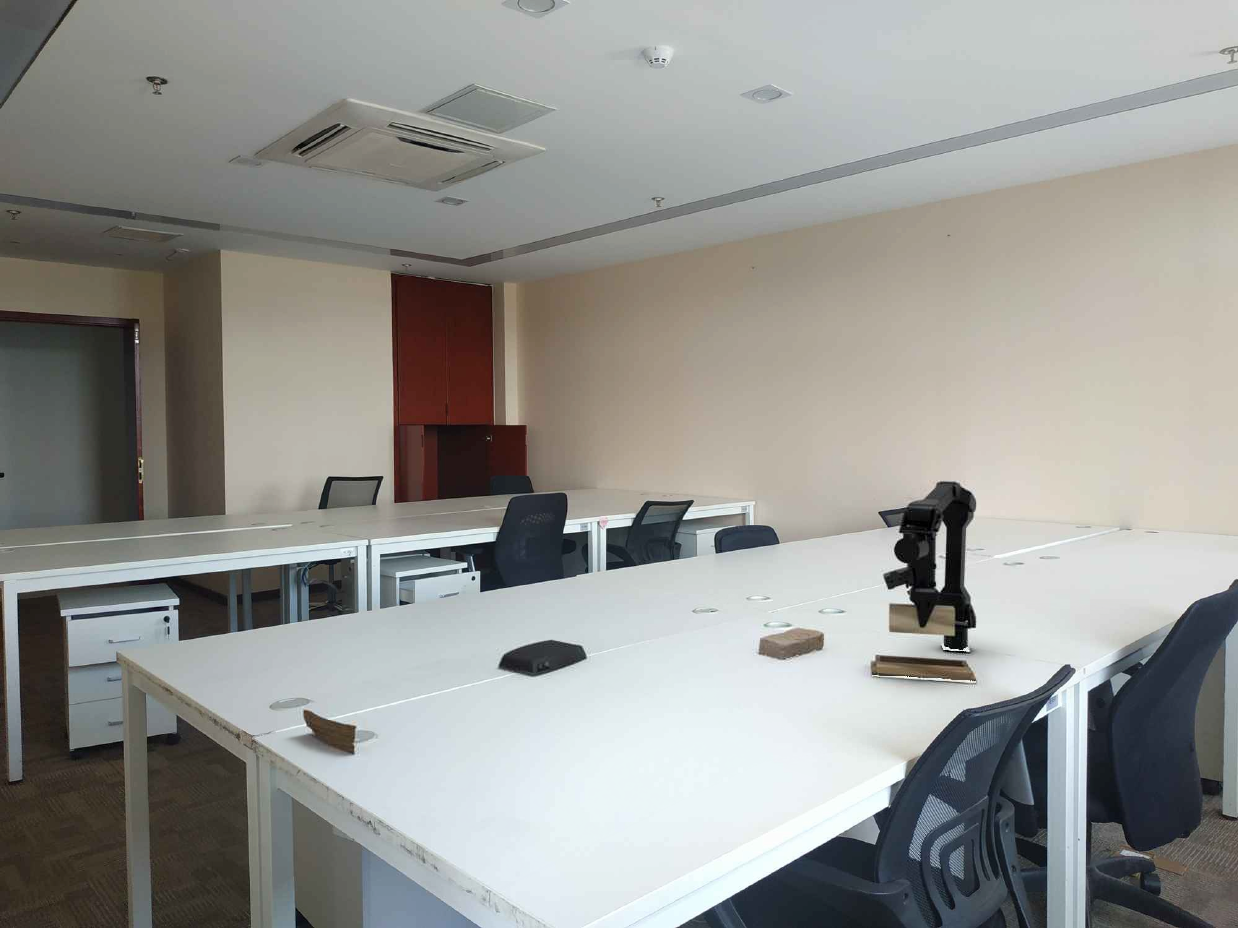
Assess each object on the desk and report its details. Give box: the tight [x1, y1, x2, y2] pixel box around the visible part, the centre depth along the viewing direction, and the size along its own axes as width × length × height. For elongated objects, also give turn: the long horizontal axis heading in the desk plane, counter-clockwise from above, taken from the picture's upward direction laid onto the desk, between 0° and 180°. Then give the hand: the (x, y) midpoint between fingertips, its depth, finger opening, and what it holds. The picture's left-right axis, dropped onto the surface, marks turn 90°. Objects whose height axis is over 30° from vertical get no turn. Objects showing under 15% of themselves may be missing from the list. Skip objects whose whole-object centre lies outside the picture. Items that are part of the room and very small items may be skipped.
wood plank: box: [302, 709, 357, 755], centre depth 154 cm, size 15×2×5 cm, turn 52°
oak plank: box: [888, 602, 955, 636], centre depth 197 cm, size 4×14×6 cm, turn 75°
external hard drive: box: [497, 639, 588, 677], centre depth 206 cm, size 13×19×4 cm
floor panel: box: [870, 654, 977, 682], centre depth 196 cm, size 10×22×2 cm, turn 75°
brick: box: [758, 627, 825, 661], centre depth 216 cm, size 17×8×5 cm, turn 130°
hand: (921, 625), depth 197 cm, fingers closed on oak plank, 3 cm apart
